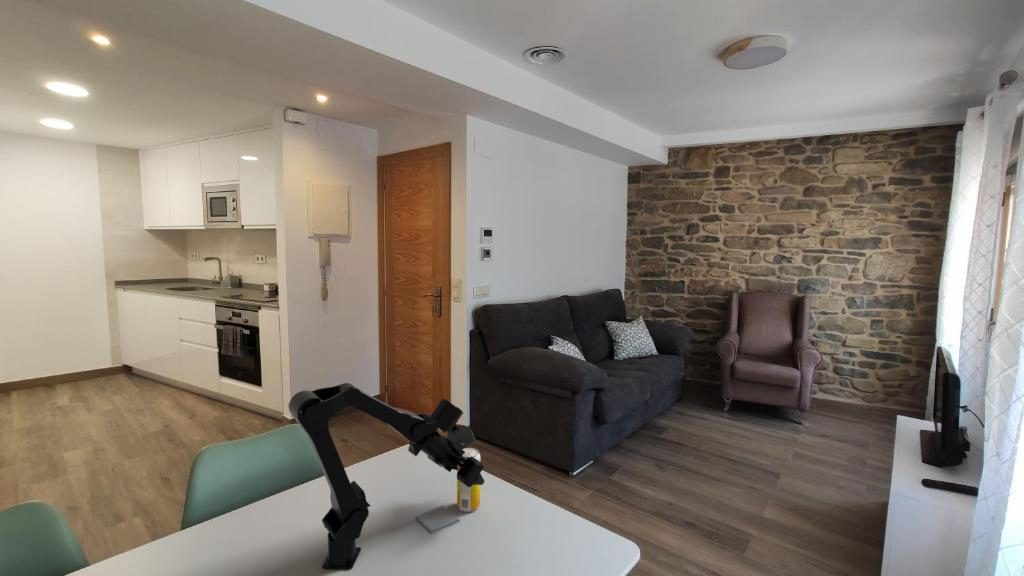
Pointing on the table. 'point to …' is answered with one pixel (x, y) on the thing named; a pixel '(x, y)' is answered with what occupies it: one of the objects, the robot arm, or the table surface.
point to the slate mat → (437, 519)
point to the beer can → (468, 495)
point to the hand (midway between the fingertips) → (473, 476)
